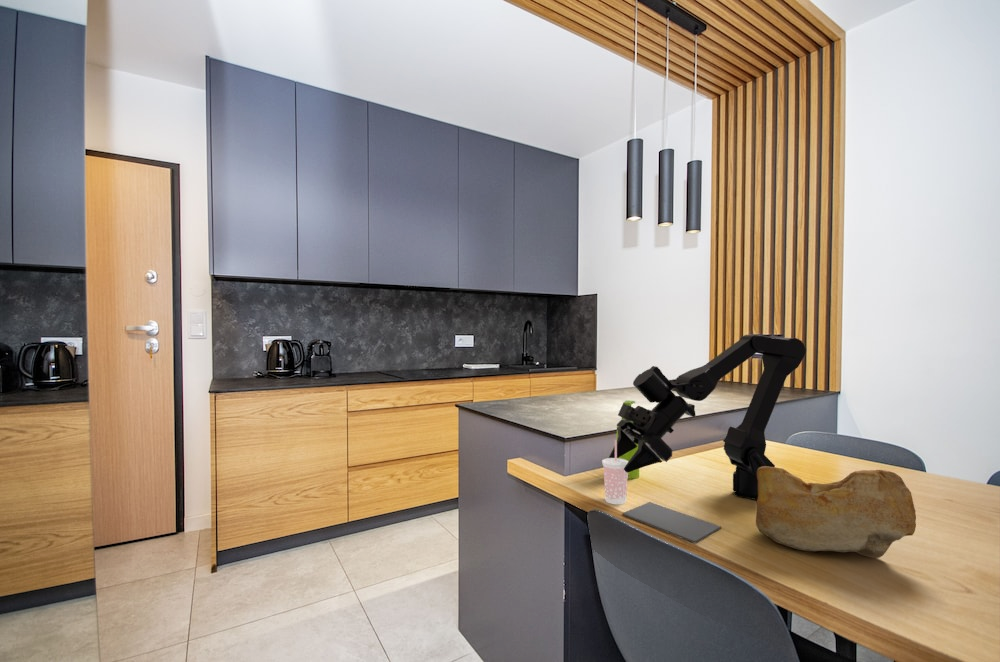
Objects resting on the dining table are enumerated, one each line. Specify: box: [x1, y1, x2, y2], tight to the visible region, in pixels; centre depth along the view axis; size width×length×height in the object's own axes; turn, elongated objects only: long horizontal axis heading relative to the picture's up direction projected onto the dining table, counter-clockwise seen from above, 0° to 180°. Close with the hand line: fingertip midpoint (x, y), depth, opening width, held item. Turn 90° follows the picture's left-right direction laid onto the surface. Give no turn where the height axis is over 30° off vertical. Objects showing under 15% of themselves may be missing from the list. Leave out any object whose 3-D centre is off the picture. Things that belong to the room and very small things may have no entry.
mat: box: [622, 501, 722, 544], centre depth 91 cm, size 16×10×1 cm, turn 38°
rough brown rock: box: [755, 466, 917, 559], centre depth 83 cm, size 23×17×15 cm
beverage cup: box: [601, 439, 629, 505], centre depth 102 cm, size 6×6×14 cm
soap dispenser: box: [616, 400, 640, 480], centre depth 120 cm, size 6×7×20 cm
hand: (617, 464), depth 102 cm, fingers open, 9 cm apart
